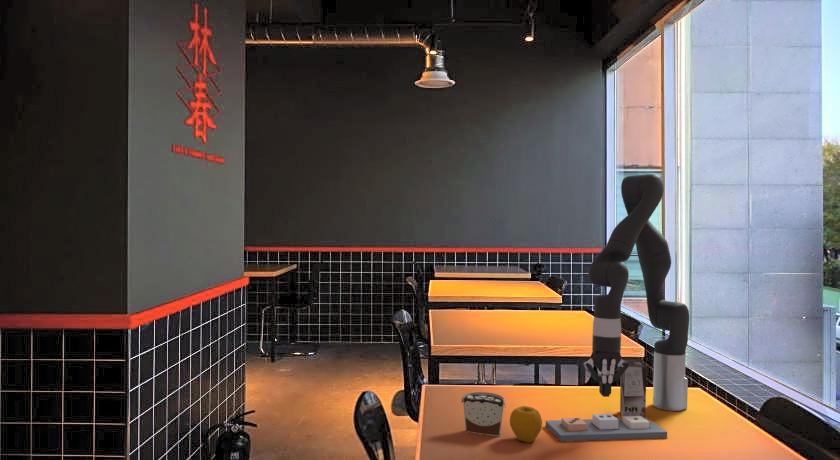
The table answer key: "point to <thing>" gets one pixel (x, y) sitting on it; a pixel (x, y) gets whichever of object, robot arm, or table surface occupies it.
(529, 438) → the apple
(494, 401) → the food container
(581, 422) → the tile three
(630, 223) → the robot arm
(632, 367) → the coffee box
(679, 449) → the table surface
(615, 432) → the button board
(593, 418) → the tile two
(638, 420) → the tile one
